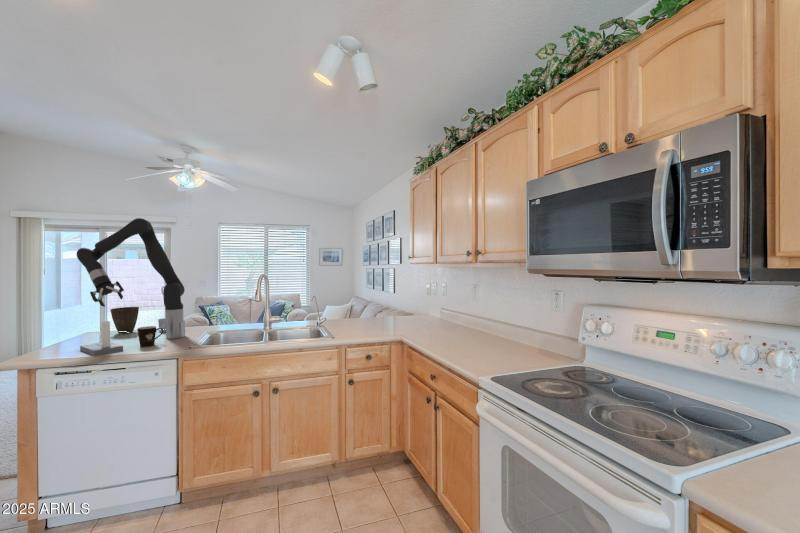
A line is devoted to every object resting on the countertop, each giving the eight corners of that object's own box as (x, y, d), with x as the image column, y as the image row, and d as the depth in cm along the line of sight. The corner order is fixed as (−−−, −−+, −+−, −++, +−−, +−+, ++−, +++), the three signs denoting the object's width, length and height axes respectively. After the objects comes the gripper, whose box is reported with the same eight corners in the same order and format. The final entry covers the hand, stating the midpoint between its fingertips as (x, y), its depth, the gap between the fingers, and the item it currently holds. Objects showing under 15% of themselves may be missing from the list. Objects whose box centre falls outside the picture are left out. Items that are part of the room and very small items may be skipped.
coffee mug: (136, 348, 196) (135, 329, 196) (139, 345, 204) (138, 327, 204) (162, 345, 202) (161, 327, 202) (163, 342, 209) (163, 325, 209)
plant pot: (106, 335, 230) (105, 310, 230) (117, 331, 245) (116, 307, 244) (134, 334, 234) (133, 309, 234) (143, 329, 249) (142, 306, 248)
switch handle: (101, 347, 188) (100, 321, 188) (108, 346, 191) (107, 320, 190) (103, 347, 187) (102, 322, 187) (110, 346, 189) (109, 321, 189)
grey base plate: (80, 350, 193) (80, 345, 193) (108, 345, 203) (107, 341, 203) (94, 355, 182) (94, 350, 182) (123, 350, 192) (123, 345, 192)
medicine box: (164, 332, 240) (164, 319, 240) (158, 332, 241) (158, 318, 241) (174, 330, 248) (173, 317, 248) (168, 329, 249) (168, 317, 248)
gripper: (82, 282, 201) (95, 306, 199) (112, 270, 208) (125, 294, 206) (87, 286, 208) (100, 310, 205) (116, 275, 215) (129, 298, 212)
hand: (112, 302), depth 205 cm, fingers open, 8 cm apart
